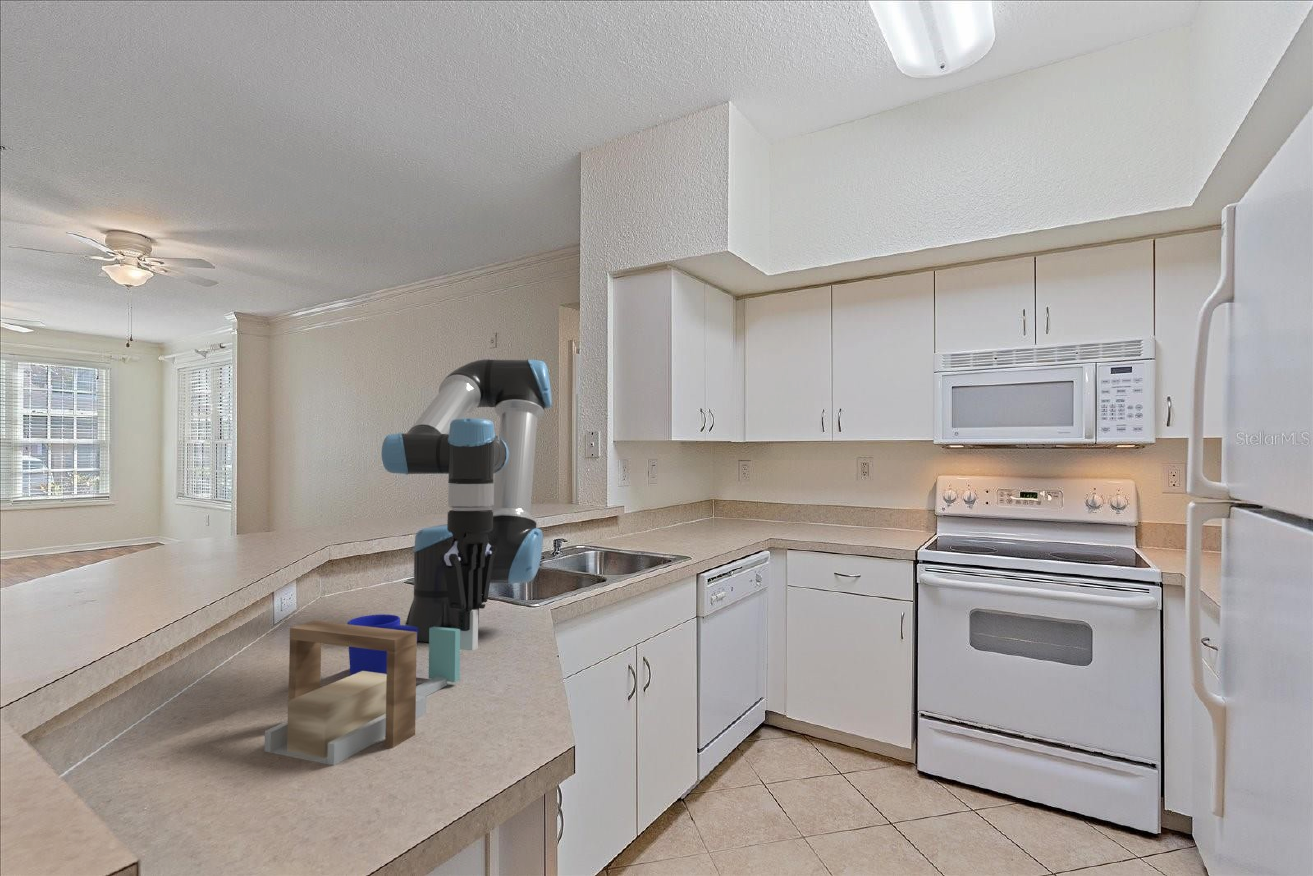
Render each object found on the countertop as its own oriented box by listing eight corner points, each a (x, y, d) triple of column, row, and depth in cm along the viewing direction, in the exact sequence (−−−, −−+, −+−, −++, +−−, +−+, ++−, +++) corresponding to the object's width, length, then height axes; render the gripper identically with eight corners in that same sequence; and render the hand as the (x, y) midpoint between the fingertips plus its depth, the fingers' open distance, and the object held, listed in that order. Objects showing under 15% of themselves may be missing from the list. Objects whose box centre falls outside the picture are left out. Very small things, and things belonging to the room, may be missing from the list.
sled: (418, 683, 104) (419, 624, 104) (475, 691, 100) (476, 630, 101) (264, 757, 78) (266, 679, 78) (333, 772, 74) (335, 689, 75)
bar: (361, 714, 89) (362, 670, 90) (396, 719, 87) (397, 675, 88) (286, 750, 78) (288, 701, 78) (324, 758, 76) (325, 707, 76)
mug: (401, 692, 101) (402, 628, 102) (334, 686, 104) (336, 624, 104) (429, 675, 109) (430, 616, 110) (367, 670, 112) (368, 613, 112)
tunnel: (312, 726, 88) (315, 620, 89) (415, 744, 83) (416, 632, 83) (287, 737, 85) (290, 627, 85) (392, 758, 79) (394, 640, 79)
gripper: (474, 506, 116) (472, 637, 115) (427, 510, 104) (424, 657, 102) (510, 507, 114) (508, 641, 112) (465, 511, 101) (463, 661, 100)
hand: (468, 648), depth 107 cm, fingers closed
